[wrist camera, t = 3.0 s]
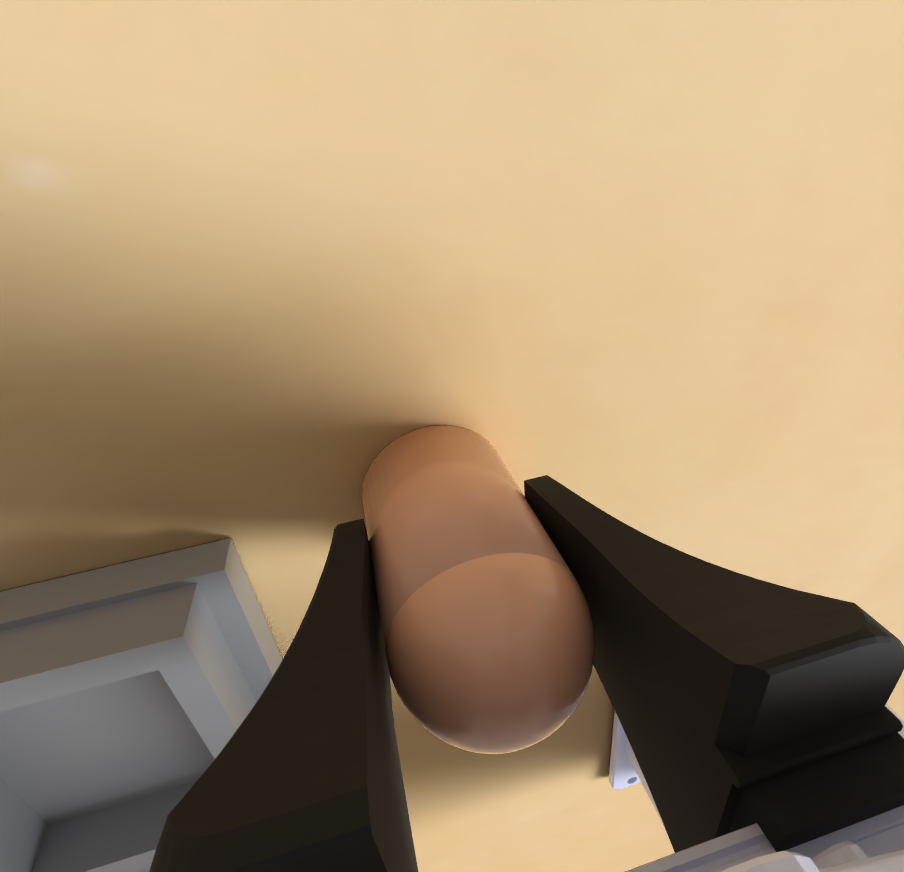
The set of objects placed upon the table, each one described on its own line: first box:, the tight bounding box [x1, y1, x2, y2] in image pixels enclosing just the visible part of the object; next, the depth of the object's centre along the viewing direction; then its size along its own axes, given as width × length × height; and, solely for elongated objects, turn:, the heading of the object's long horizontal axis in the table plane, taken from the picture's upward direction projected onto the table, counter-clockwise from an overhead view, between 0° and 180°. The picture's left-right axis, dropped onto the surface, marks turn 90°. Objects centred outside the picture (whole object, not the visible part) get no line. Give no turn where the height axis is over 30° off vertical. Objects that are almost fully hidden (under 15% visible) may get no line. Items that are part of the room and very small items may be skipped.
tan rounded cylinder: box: [362, 425, 595, 754], centre depth 11 cm, size 4×4×7 cm
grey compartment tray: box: [0, 538, 283, 872], centre depth 18 cm, size 9×24×3 cm, turn 6°
